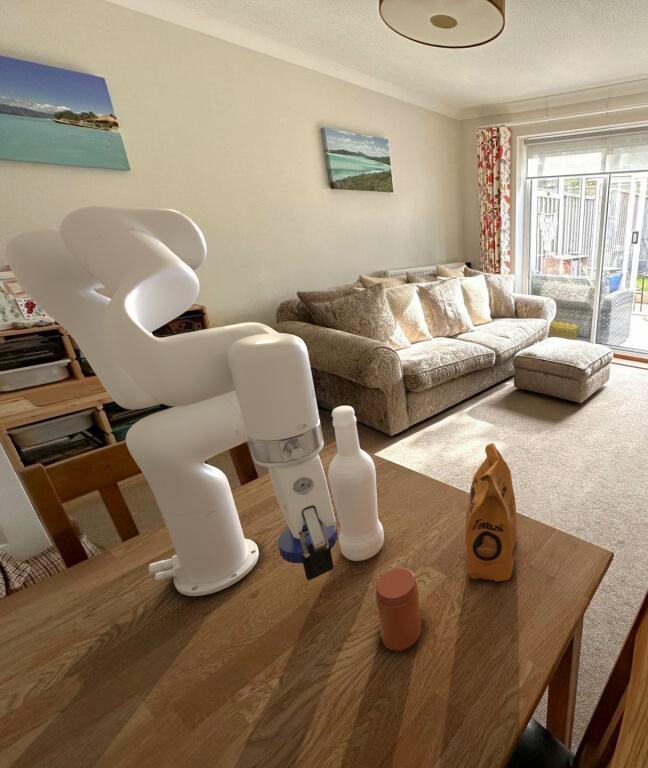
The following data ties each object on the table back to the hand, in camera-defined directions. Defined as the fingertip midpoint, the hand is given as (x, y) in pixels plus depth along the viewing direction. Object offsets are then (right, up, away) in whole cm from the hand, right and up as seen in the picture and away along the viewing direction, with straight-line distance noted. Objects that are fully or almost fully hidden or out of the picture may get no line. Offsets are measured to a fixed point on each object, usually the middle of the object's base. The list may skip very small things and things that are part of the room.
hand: (312, 555), depth 54 cm
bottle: (-2, -9, +25) cm, 27 cm away
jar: (+10, -16, +9) cm, 20 cm away
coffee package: (+23, -11, +23) cm, 34 cm away
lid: (0, +3, -1) cm, 3 cm away
